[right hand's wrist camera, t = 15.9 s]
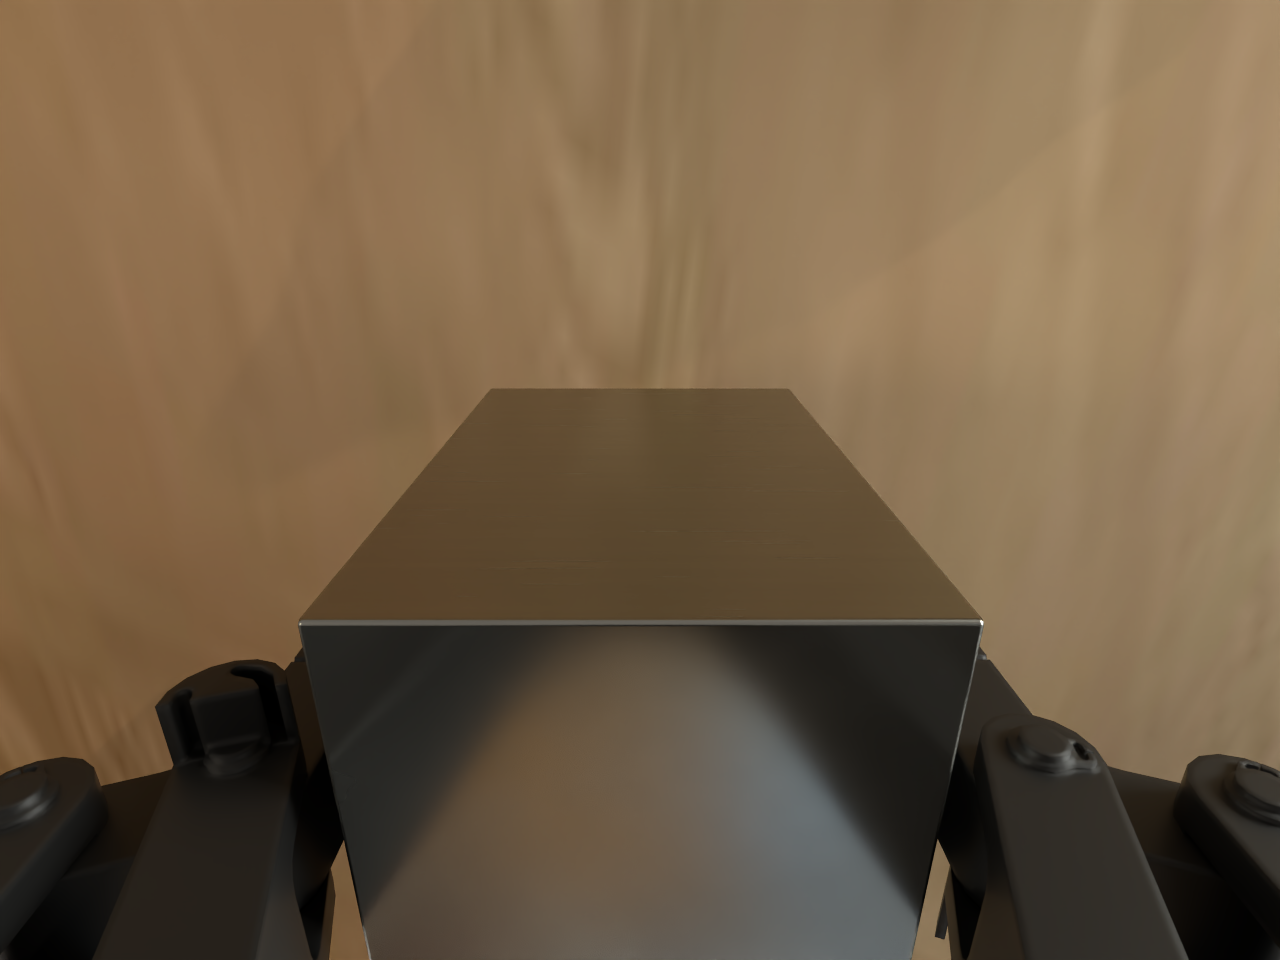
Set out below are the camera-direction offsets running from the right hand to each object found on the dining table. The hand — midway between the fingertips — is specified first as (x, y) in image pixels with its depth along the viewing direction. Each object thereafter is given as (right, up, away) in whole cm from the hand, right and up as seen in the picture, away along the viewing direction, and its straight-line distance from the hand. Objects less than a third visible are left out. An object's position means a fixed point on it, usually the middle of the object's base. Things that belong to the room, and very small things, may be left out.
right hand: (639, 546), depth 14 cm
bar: (0, -9, +4) cm, 10 cm away
